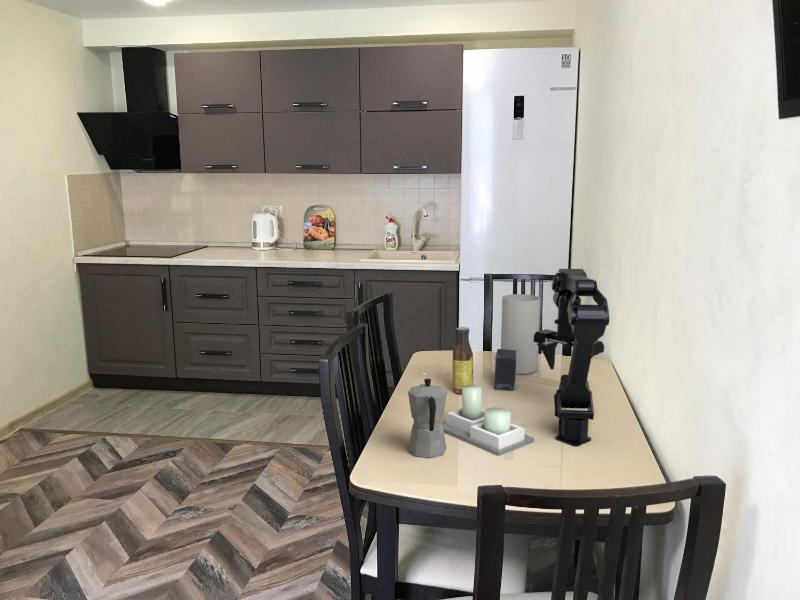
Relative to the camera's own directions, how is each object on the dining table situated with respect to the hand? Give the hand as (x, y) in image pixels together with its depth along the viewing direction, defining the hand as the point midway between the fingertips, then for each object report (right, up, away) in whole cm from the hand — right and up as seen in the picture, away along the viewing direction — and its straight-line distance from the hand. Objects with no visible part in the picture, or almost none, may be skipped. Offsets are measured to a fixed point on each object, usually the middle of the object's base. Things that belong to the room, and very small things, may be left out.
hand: (566, 372), depth 174 cm
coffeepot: (-38, -17, -18) cm, 45 cm away
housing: (-23, -15, -9) cm, 29 cm away
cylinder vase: (-4, -4, +48) cm, 48 cm away
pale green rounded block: (-26, -13, -4) cm, 29 cm away
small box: (-11, -8, +31) cm, 34 cm away
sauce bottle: (-25, -9, +25) cm, 37 cm away
